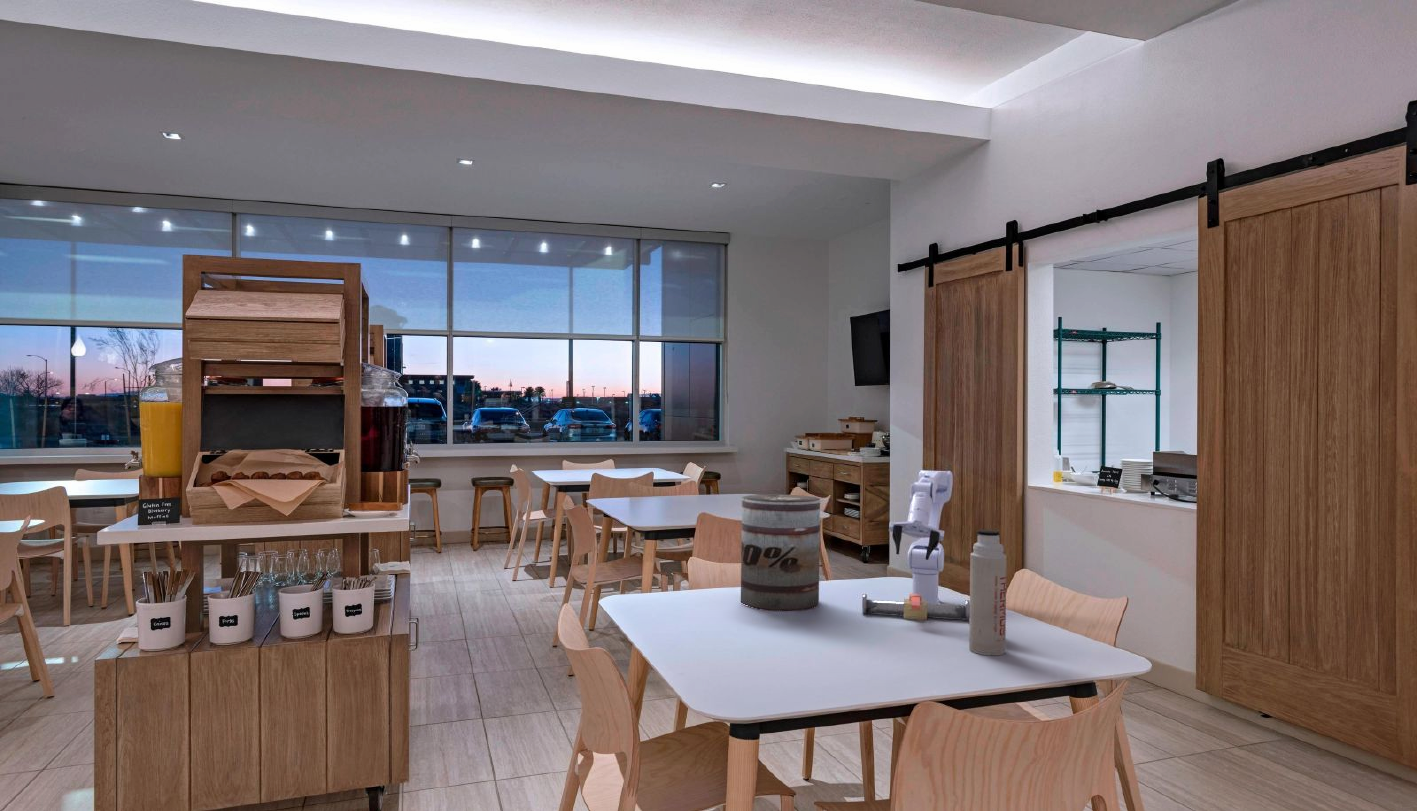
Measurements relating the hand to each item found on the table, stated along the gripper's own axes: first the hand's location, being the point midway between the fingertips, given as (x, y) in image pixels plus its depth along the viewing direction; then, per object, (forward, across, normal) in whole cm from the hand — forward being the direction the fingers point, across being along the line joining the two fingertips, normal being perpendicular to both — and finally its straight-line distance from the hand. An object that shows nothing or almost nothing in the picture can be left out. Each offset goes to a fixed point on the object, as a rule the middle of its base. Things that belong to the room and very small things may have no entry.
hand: (912, 554), depth 228 cm
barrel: (+7, -35, +24) cm, 43 cm away
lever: (+8, +3, +10) cm, 13 cm away
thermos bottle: (+28, +20, -5) cm, 35 cm away
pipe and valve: (+8, +3, +16) cm, 18 cm away
